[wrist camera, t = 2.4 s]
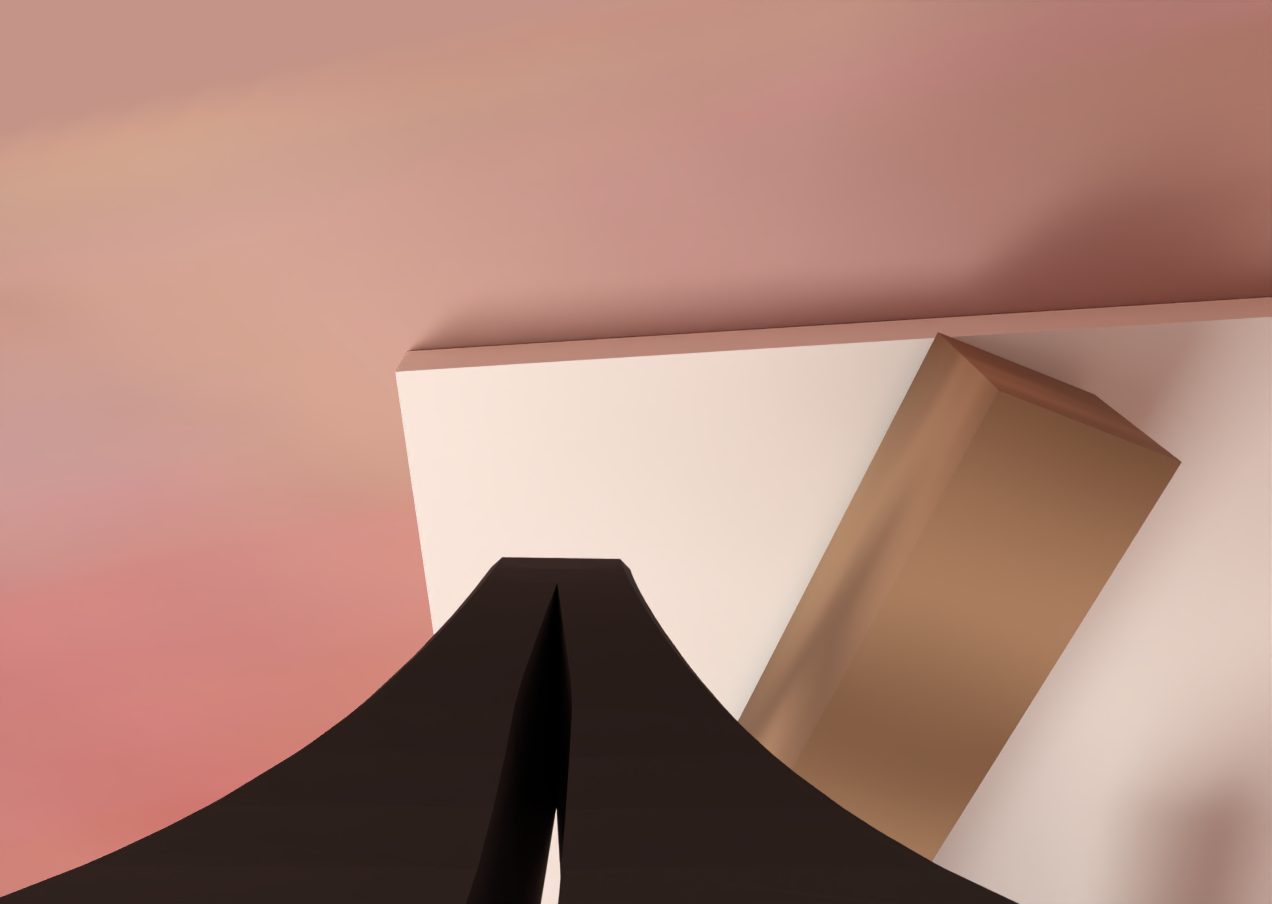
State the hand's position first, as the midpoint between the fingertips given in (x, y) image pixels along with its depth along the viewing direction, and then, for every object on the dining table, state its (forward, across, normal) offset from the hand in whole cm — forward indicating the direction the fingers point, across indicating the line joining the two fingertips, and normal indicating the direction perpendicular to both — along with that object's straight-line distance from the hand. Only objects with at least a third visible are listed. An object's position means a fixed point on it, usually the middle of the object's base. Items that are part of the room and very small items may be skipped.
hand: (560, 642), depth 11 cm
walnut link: (+7, -5, +6) cm, 11 cm away
